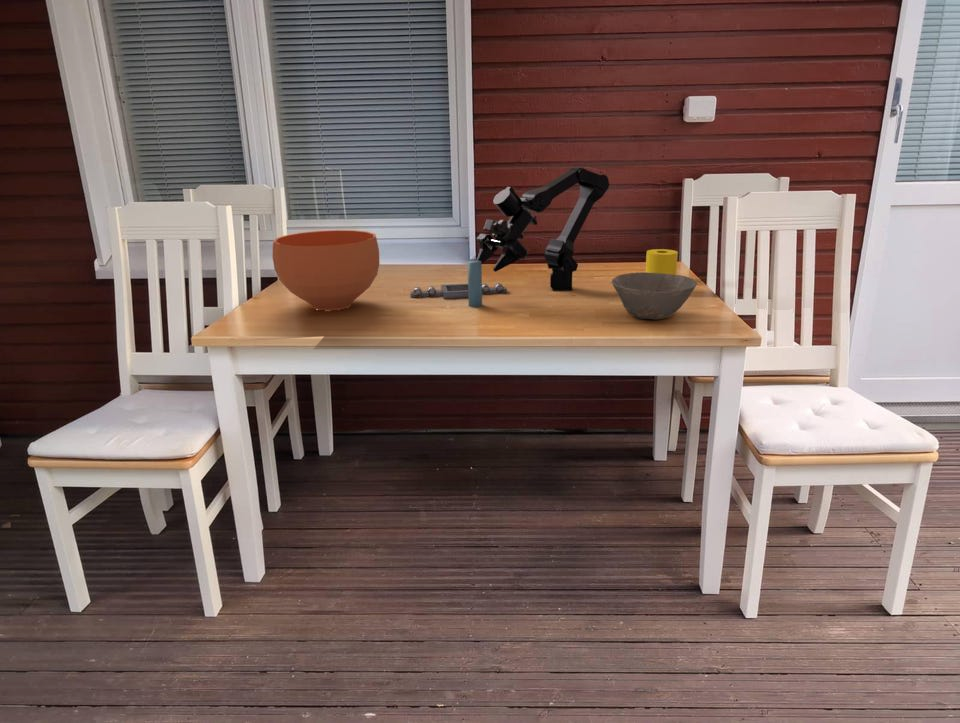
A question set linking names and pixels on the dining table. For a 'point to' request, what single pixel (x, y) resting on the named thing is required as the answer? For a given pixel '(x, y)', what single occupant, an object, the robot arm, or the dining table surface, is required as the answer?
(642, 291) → the ceramic bowl
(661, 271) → the tape roll
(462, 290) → the grey square frame handle
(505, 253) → the robot arm
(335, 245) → the flowerpot
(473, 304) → the pin
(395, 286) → the dining table surface
